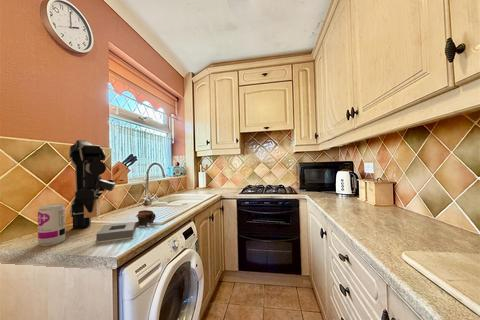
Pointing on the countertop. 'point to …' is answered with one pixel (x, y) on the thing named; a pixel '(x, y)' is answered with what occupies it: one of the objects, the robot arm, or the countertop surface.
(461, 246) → the countertop surface
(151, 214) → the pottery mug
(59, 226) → the supplement can
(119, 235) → the charcoal well block
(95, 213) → the wooden toy block
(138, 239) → the countertop surface
